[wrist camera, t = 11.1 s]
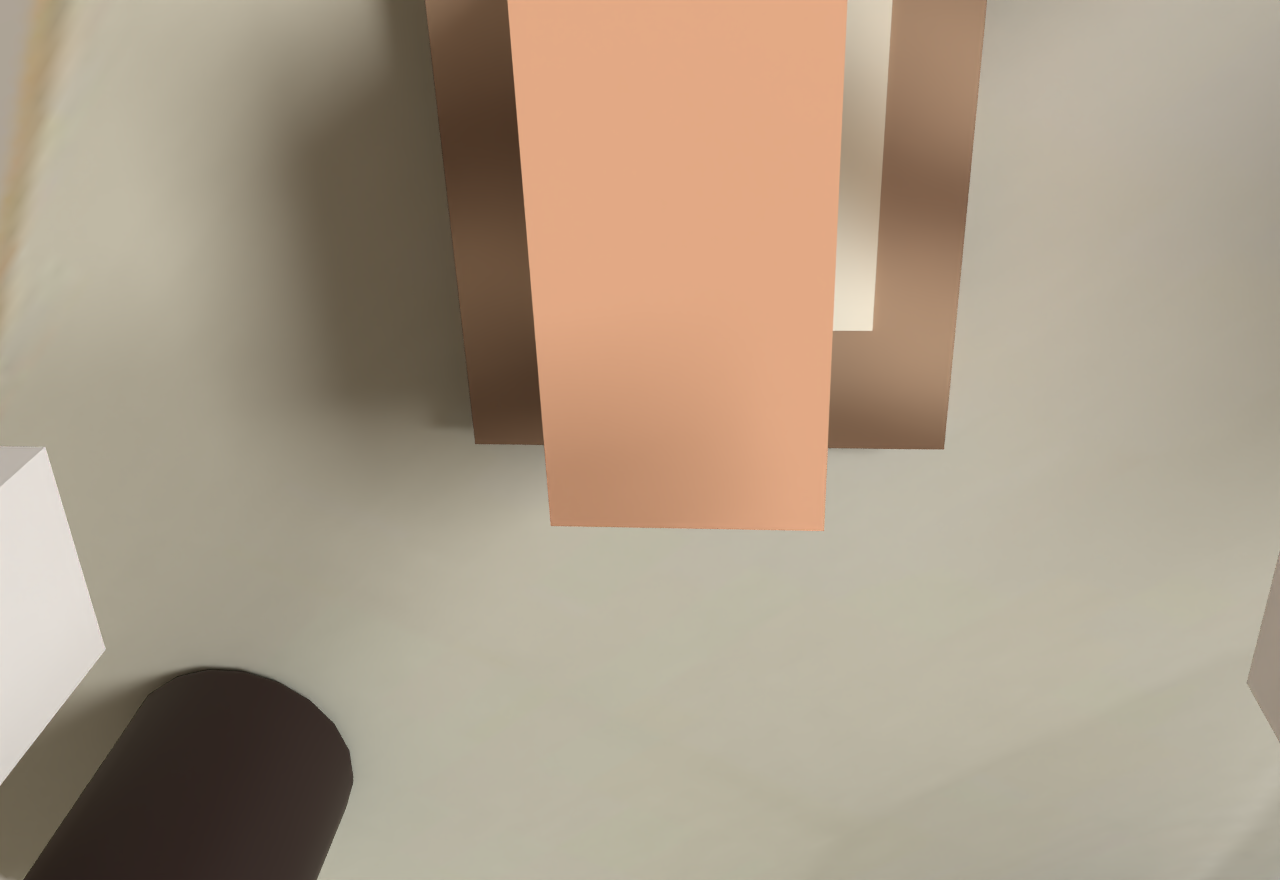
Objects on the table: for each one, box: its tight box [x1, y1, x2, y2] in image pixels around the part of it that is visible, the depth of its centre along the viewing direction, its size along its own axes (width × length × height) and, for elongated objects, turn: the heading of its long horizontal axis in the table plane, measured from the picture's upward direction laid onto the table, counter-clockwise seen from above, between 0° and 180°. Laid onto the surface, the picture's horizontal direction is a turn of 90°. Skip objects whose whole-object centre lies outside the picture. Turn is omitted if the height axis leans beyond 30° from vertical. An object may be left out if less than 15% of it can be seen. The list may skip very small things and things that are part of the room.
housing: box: [507, 0, 847, 531], centre depth 21 cm, size 9×5×5 cm, turn 2°
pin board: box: [425, 0, 987, 449], centre depth 24 cm, size 13×11×6 cm
